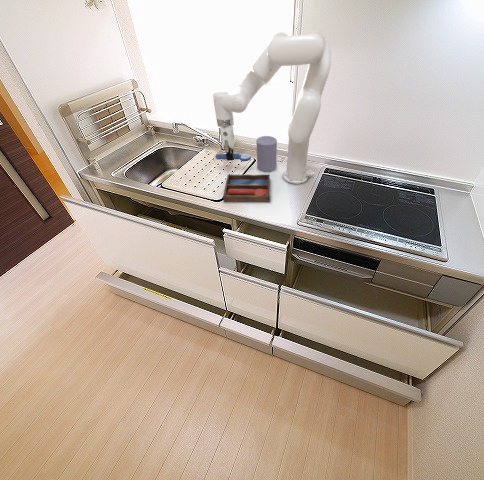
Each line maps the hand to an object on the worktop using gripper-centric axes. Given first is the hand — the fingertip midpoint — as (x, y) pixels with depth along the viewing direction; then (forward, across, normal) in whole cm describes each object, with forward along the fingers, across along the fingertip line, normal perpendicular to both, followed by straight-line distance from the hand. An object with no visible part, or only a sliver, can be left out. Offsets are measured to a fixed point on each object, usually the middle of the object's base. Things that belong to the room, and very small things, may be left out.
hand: (230, 158), depth 131 cm
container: (+9, +6, -18) cm, 21 cm away
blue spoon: (0, 0, -1) cm, 1 cm away
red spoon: (+7, -21, -8) cm, 24 cm away
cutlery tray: (+8, -16, -9) cm, 21 cm away
